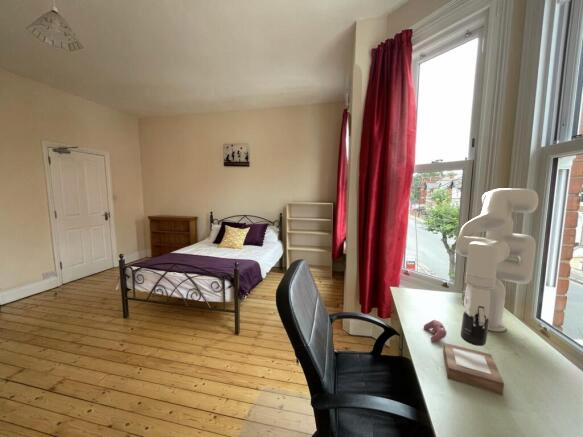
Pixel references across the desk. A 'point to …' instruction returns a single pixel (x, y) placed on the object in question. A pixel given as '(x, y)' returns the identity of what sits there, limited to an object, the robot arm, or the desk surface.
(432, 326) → the video game controller
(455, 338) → the desk surface
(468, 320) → the supplement bottle
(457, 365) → the brown picture frame
